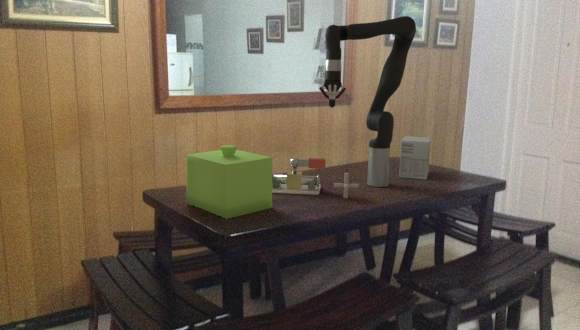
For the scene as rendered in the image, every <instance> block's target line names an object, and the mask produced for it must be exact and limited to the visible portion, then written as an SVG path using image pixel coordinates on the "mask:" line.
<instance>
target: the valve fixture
mask: <svg viewBox="0 0 580 330" xmlns="http://www.w3.org/2000/svg"><path fill="white" fill-rule="evenodd" d="M297 169H298V167H292V169H291V170H292V171H290V170H289V171H287V173H286V174H276V173H275V174H273V173H272V194H290V195H291V194H292V195H294V194H295V195H311V196H315V195H316V196H319V195H320V192H321V189H322V188H321V187H322V184H320V174H317V175H303V171H297Z"/></svg>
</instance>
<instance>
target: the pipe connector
mask: <svg viewBox="0 0 580 330" xmlns="http://www.w3.org/2000/svg"><path fill="white" fill-rule="evenodd" d="M349 178H350V173H349V172H344V177H343V183H342V182H334V183H333V188H341V189H342V188H343V198H344V199H348V198H349V189H359V185H360V183H349V180H350V179H349Z"/></svg>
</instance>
